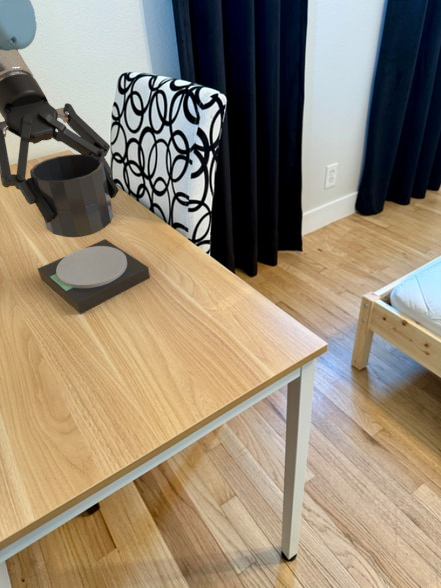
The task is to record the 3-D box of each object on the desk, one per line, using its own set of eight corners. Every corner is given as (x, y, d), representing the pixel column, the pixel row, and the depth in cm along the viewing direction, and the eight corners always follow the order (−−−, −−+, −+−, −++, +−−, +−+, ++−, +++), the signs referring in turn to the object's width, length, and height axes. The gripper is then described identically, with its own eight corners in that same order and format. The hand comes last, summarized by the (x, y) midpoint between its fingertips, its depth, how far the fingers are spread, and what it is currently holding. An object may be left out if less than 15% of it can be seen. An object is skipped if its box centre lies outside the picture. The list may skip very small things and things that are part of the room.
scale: (80, 314, 75) (76, 299, 72) (41, 279, 83) (36, 265, 81) (149, 277, 83) (147, 263, 81) (107, 249, 91) (104, 235, 89)
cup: (67, 247, 68) (50, 187, 61) (36, 223, 74) (18, 167, 68) (126, 222, 73) (115, 166, 67) (92, 202, 80) (80, 149, 74)
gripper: (74, 89, 78) (136, 193, 79) (-64, 118, 66) (11, 241, 66) (82, 59, 72) (150, 173, 73) (-68, 85, 59) (15, 222, 60)
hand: (84, 206), depth 69 cm, fingers closed on cup, 11 cm apart
